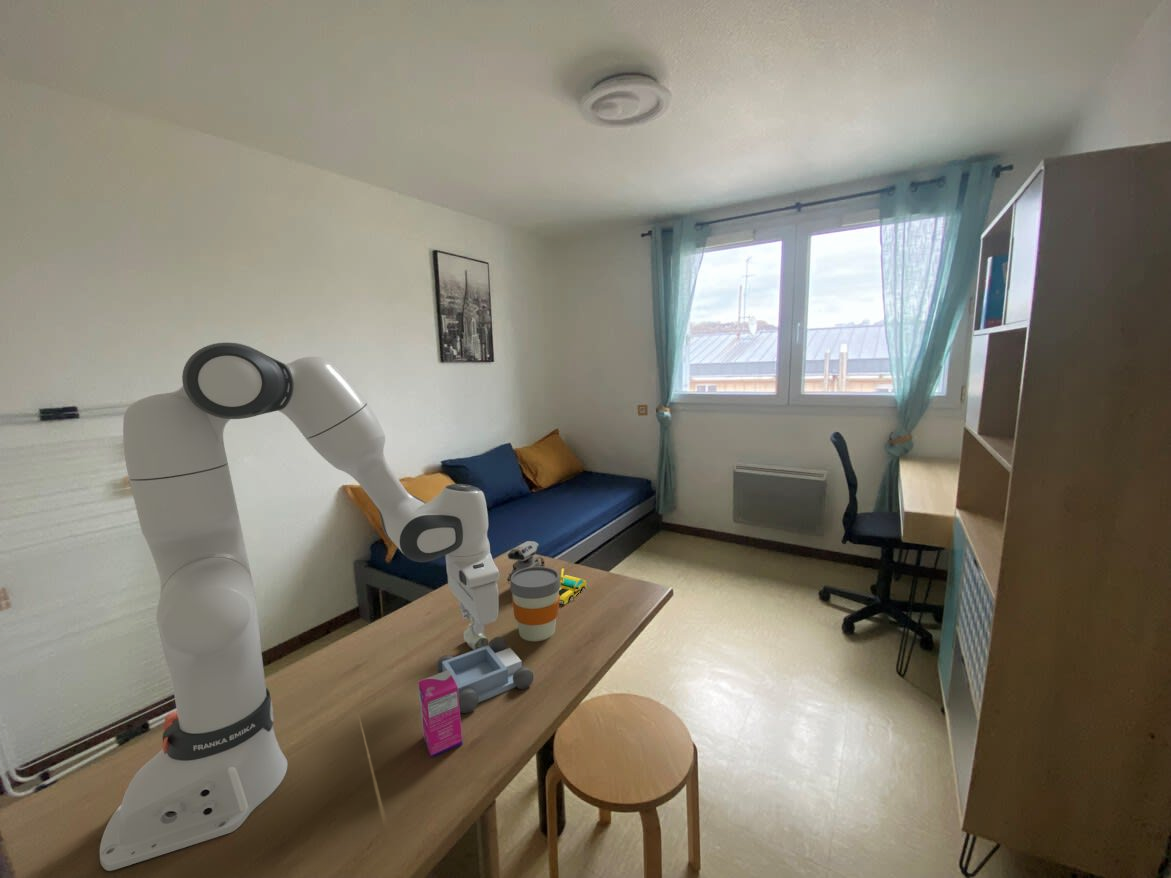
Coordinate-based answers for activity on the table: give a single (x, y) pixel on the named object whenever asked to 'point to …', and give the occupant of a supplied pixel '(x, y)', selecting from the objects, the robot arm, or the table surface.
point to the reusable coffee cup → (535, 601)
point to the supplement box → (440, 712)
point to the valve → (474, 637)
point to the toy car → (570, 587)
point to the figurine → (524, 557)
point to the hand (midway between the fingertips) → (472, 624)
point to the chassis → (485, 673)
